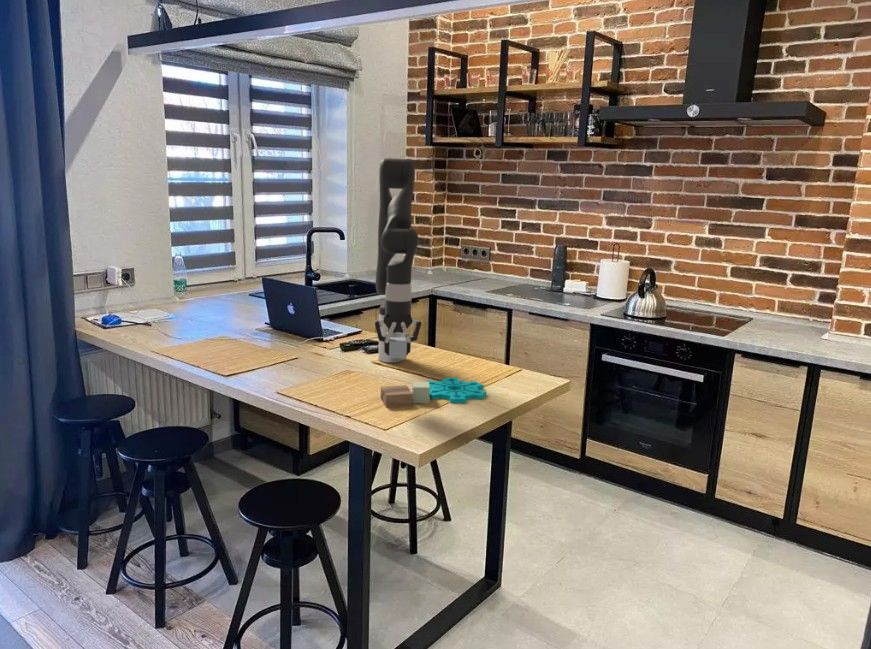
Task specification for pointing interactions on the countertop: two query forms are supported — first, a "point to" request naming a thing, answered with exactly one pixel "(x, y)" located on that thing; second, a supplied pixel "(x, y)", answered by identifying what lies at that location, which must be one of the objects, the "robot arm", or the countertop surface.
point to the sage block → (420, 392)
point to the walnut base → (396, 396)
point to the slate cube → (397, 347)
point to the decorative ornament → (456, 390)
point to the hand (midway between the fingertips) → (397, 354)
